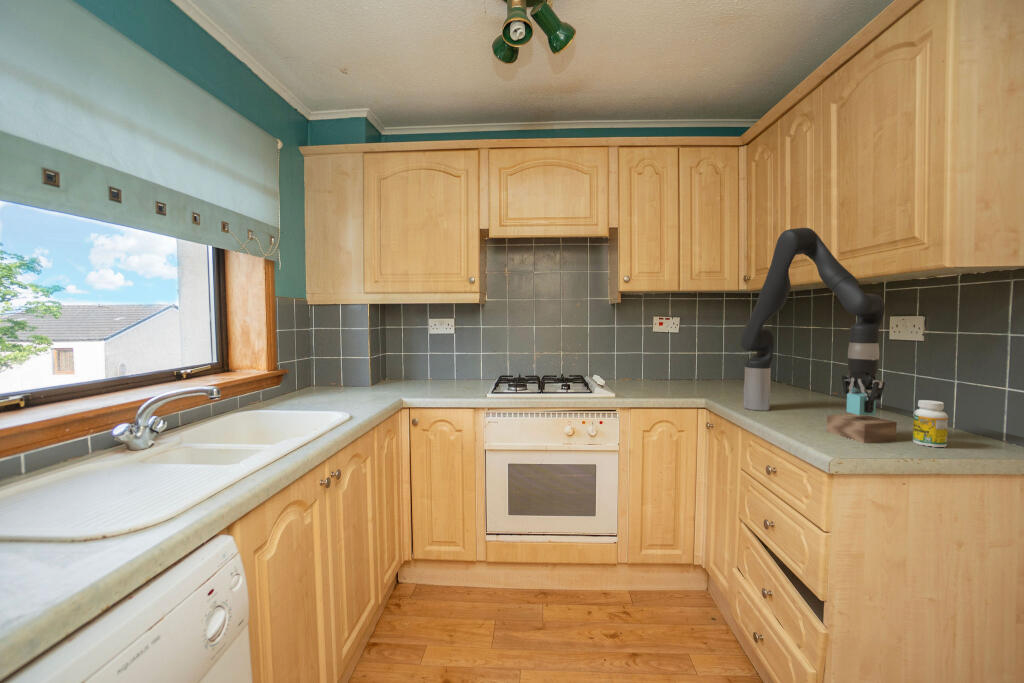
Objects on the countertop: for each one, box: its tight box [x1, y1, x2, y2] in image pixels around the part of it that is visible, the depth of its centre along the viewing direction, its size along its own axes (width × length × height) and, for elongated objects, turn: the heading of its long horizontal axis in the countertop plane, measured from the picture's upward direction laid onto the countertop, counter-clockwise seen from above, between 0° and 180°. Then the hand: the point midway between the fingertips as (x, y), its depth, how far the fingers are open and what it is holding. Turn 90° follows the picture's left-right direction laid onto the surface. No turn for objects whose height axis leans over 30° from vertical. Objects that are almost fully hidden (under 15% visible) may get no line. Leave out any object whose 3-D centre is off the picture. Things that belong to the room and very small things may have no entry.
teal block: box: [846, 392, 877, 416], centre depth 133 cm, size 5×5×6 cm
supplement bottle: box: [912, 399, 949, 448], centre depth 124 cm, size 7×7×13 cm
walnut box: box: [826, 413, 897, 444], centre depth 133 cm, size 12×12×6 cm
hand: (861, 410), depth 133 cm, fingers closed on teal block, 5 cm apart
